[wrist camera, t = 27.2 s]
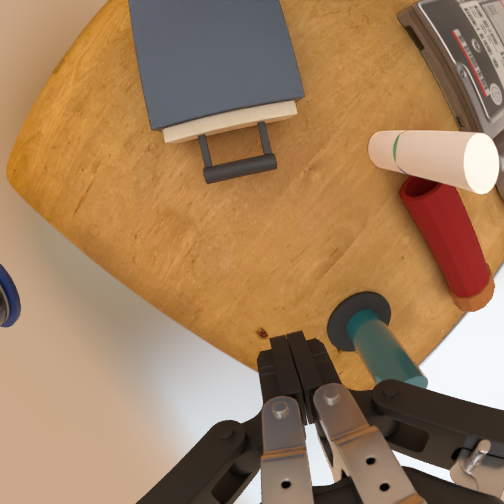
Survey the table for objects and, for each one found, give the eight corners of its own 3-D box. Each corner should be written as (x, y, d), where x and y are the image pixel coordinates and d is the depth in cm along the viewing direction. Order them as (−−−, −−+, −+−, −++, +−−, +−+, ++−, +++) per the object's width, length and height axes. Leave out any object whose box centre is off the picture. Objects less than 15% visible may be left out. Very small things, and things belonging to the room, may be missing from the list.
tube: (388, 124, 28) (487, 123, 14) (406, 156, 29) (504, 175, 15) (361, 142, 28) (455, 149, 14) (379, 175, 30) (474, 205, 16)
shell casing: (446, 299, 37) (473, 322, 30) (388, 196, 30) (424, 210, 24) (474, 268, 35) (503, 287, 29) (425, 160, 29) (463, 167, 23)
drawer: (292, 161, 28) (308, 165, 22) (187, 185, 28) (177, 194, 22) (254, 3, 21) (260, -24, 16) (153, 25, 21) (138, 2, 16)
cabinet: (286, 108, 27) (305, 96, 19) (170, 133, 27) (151, 130, 19) (255, -10, 21) (262, -47, 14) (146, 14, 21) (126, -17, 14)
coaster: (329, 356, 38) (330, 359, 37) (324, 302, 34) (325, 304, 34) (387, 337, 38) (389, 340, 37) (389, 283, 34) (392, 285, 34)
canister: (346, 343, 36) (384, 415, 24) (345, 314, 35) (389, 387, 22) (378, 333, 36) (423, 399, 24) (379, 304, 35) (432, 369, 22)
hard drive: (533, 83, 25) (550, 83, 20) (464, 141, 28) (486, 143, 24) (486, -10, 19) (501, -16, 14) (394, 14, 22) (412, 2, 18)
